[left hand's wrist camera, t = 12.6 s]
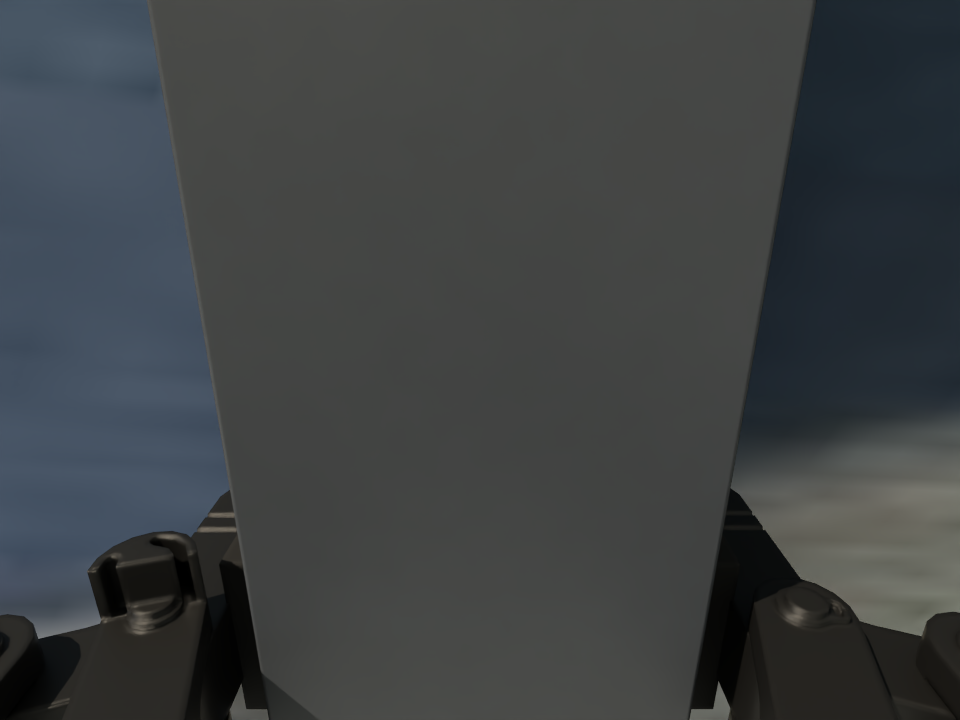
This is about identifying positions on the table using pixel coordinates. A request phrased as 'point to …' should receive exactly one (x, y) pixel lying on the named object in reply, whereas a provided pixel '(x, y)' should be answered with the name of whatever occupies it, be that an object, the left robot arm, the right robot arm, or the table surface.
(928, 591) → the table surface
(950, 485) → the table surface
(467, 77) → the beam
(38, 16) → the table surface
